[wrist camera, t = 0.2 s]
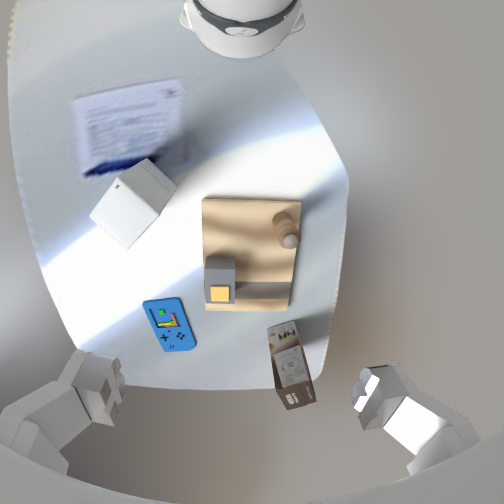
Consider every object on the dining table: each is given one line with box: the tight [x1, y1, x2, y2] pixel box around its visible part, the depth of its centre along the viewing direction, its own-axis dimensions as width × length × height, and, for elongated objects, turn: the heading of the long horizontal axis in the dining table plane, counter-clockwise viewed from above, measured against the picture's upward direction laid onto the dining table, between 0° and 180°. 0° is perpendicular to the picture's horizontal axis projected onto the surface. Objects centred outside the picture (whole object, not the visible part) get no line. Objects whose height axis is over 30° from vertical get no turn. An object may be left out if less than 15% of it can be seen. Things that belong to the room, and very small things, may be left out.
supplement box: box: [90, 158, 177, 250], centre depth 37 cm, size 7×7×13 cm
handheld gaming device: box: [142, 298, 196, 352], centre depth 57 cm, size 8×1×15 cm
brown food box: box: [267, 321, 317, 410], centre depth 53 cm, size 9×6×16 cm
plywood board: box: [202, 199, 302, 311], centre depth 50 cm, size 22×16×1 cm
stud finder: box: [204, 257, 235, 304], centre depth 48 cm, size 7×5×4 cm
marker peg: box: [272, 211, 301, 249], centre depth 42 cm, size 3×3×8 cm
